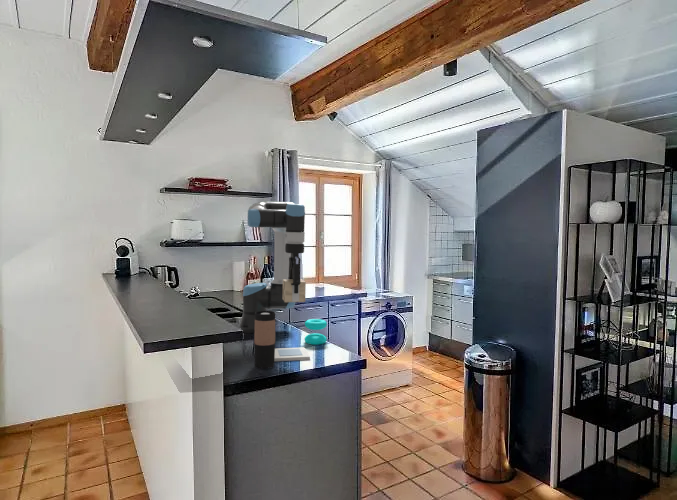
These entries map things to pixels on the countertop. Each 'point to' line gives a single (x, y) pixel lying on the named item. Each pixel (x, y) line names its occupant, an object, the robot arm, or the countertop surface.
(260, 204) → the robot arm
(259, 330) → the travel mug
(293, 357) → the white flat square slab
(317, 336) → the donuts
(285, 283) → the wooden cube
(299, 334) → the countertop surface
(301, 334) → the countertop surface
